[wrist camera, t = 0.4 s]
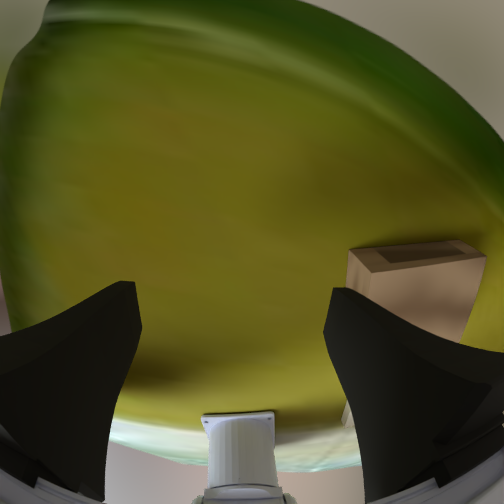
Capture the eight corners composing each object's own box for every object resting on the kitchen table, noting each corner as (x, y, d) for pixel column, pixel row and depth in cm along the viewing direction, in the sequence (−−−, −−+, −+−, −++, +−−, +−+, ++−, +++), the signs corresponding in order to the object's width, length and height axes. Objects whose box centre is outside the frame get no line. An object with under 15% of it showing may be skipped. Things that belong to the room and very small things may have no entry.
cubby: (439, 320, 24) (459, 342, 20) (338, 342, 23) (352, 373, 20) (459, 239, 20) (487, 256, 17) (348, 249, 20) (371, 273, 16)
